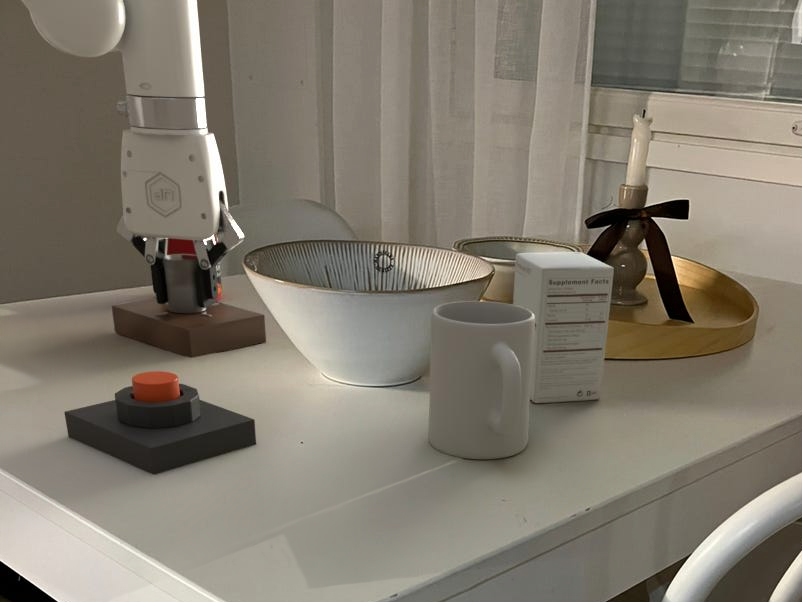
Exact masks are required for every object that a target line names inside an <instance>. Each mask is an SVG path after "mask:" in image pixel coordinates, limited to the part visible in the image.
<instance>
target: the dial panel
mask: <svg viewBox="0 0 802 602" xmlns="http://www.w3.org/2000/svg"><path fill="white" fill-rule="evenodd" d="M111 313H112V320H113V327H114V333H115V334H118V335H121V336H124V337H127V338H130V339H133V340H136V341H139V342H142V343H145V344H148V345H150V346H153V347H156V348H160V349H164V350H166V351H169V352H173V353H175V354H178V355H182V356H184V357H188V358H191V359H192V358H193V359H194V358H197V357H201V356H202V357H203V356H206V355H210V354H217V353H221V352H227V351H231V349H232V350H236V349H241V348H245V347H244V346H246V347H249V346H248V345H250V346H254V345H253V344H255V345H259V344H258V343H260V344H263V343H262V342H264V343H266V342H267V334H266V333H267V331H266V318H265V317H266V316H265V314H263V313H259V312H255V311H252V310H248V309H244V308H241V307H237V306H235V305H230V304H226V303H223V302H220V301H216V302H215V303H214V304H212V305H210V306H208V307H206V310H205V311H203V312H199V313H191V314H182V313H174V312H171V311H169V308H168V302H167V303H165V304H158V303H157V297H156V298H150V299H144V300H138V301H131V302H124V303H119V304H113V305H111ZM240 347H241V348H240ZM235 348H236V349H235ZM226 350H227V351H226Z"/></svg>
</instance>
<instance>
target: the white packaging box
mask: <svg viewBox="0 0 802 602" xmlns="http://www.w3.org/2000/svg"><path fill="white" fill-rule="evenodd" d="M514 262H515V264H514V278H513V279H514V282H513V284H514V285H513V296H512V305H516V306H520V307H523V308H525V309H528V310H530V311H531V312H532V313H533V314H534V317H535V328H534V343H533V358H532V373H531V388H530V400H531V401H532V403H534V404H545V403H547V404H549V403H565V402H583V401H595V400H599V399H601V395H602V384H603V376H604V366H605V356H606V348H607V347H606V346H607V339H608V338H607V336H608V328H609V318H610V310H611V302H612V301H611V300H612V290H613V282H614V272H615V271H614V270H615V268H614V266H611V265H609V264H606V263H604V262H602V261H601V260H598V259H596V258H595V257H592V256H590V255H588V254H586V253H584V252H582V251H581V252H580V251H553V252H552V251H551V252H550V251H547V252H519V253H516V254H515V261H514Z"/></svg>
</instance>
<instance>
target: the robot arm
mask: <svg viewBox="0 0 802 602" xmlns="http://www.w3.org/2000/svg"><path fill="white" fill-rule="evenodd" d="M20 1H21V2H22V4H23V5H24V6H25V7H26V9H27V10H28V11H29V15H30V18H31V19H30V20H31V21H32V23H33V26H34V27H35V29H36V30H37V32H38V33H39V35H40V36H41V37H42V38H43V39H44V40H45V41H46V42H47V43H48V44H49V45H51V47H53V48H54V49H56V50H58V51H60V52H62V53H65V54H67V55H71V56H76V57H81V58H97V57H101V56H103V55H105V54H107V53H112V52H120V53H121V57H122V66H123V75H124V84H125V91H126V94H125V96H124V97H125V99H124V100H118V101H117V103H116V112H117V113H118V115H119V116H125V117H126V118H127V122H128V125H130V126H129V127H130V129H123V130H122V136H121V147H120V148H121V149H120V150H121V151H120V153H121V154H120V182H121V183H120V186H121V188H120V189H121V203H122V214H121V217H120V219H119V220H118V223H117V225H116V227H115V229H116V232H117V234H119V235H120V236H121V237H122V238H124V239H125V240H126V241H128V242H129V243H131V244H132V246H133V247H134V248H135V249H136V250H137V251H138V252H139V254H140V255H142V256H143V258H144V261H145V263H146V264H147V265H148V266H150V273H151V281H152V283H151V284H152V290H153V293H154V294H155V297H156V298H157V303H158V304H165V303H167V302H168V298H167V289H166V280H165V271H164V262H163V257H164V256H166V255H167V245H168V238H171V239H184V240H193V243H194V247H195V251H196V255H197V258H198V262H199V269H196V271H195V278H196V288H197V299H198V306H200V307H201V308H206V307H208V306H210V305H212V304H214V303H215V302H217V301H216V298H217V297H218V285H217V273H216V265H218V264H219V263H221V261H222V259H224V257H225V256H226V255H227V254H228V253H229V252H230V251H231V250H232V249H234V248H236V247H237V246H238V245H239V244H241V243H243V241H245V235H244V233H243V232H242V230H241V228H240V227H239V225H238V224H237V222H236V221H235V219H234V217H233V216H232V215H231V213H230V211H229V201H228V195H227V188H226V180H225V176H224V169H223V164H222V159H221V155H220V152H219V148H218V145H217V141H216V138H215V134H214V133H213V132H209V129H208V119H207V107H206V106H207V105H206V97H205V94H206V93H205V82H204V73H203V60H202V50H201V49H202V48H201V47H202V46H201V36H200V34H201V33H200V23H199V22H200V21H199V11H198V9H199V8H198V0H20ZM222 234H224V235H223V238H222V239H220V240H218V243H216V242H215V238H214V235H218V236H219V235H222Z"/></svg>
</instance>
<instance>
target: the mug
mask: <svg viewBox="0 0 802 602" xmlns="http://www.w3.org/2000/svg"><path fill="white" fill-rule="evenodd" d="M534 328H535V317H534V314H533V313H532V312H531V311H530V310H528V309H525V308H523V307H520V306H516V305H513V304H511V303H505V302H498V301H487V300H485V301H484V300H463V301H454V302H453V301H452V302H447V303H442V304H439V305H437V306H435V307H434V308H433V309H432V310H431V314H430V350H429V351H430V353H429V354H430V355H429V405H428V406H429V407H428V430H427V434H428V441H429V444H430V446H431V447H432V448H434V449H435V450H436V451H439V452H440V453H443V454H446V455H448V456H451V457H457V458H461V459H466V460H467V459H468V460H499V459H505V458H509V457H512V456H516V455H518V454H520V453H522V452H523V451H524V450H525V449H526V447H527V444H528V440H529V420H530V418H529V417H530V402H531V401H530V400H531V399H530V388H531V373H532V358H533V343H534Z"/></svg>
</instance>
